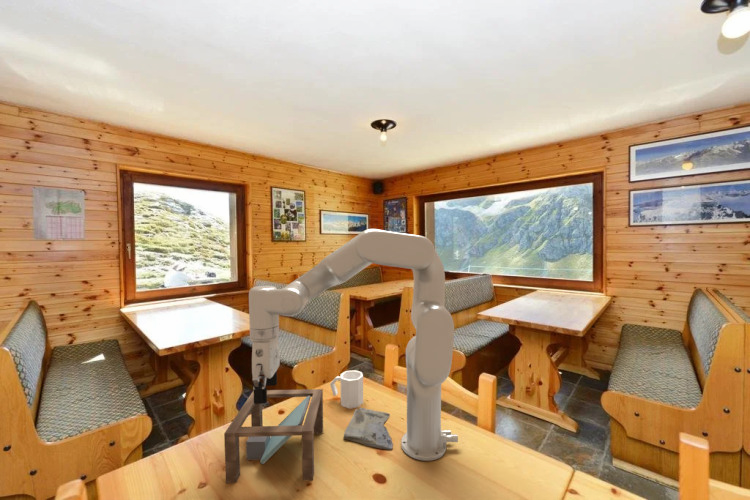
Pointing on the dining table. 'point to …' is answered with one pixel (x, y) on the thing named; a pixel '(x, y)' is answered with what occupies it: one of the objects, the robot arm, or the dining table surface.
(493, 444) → the dining table surface
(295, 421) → the trapdoor
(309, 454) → the trapdoor frame
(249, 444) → the gray cube
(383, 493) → the dining table surface
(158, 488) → the dining table surface
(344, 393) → the mug
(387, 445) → the fossil rock
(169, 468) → the dining table surface
